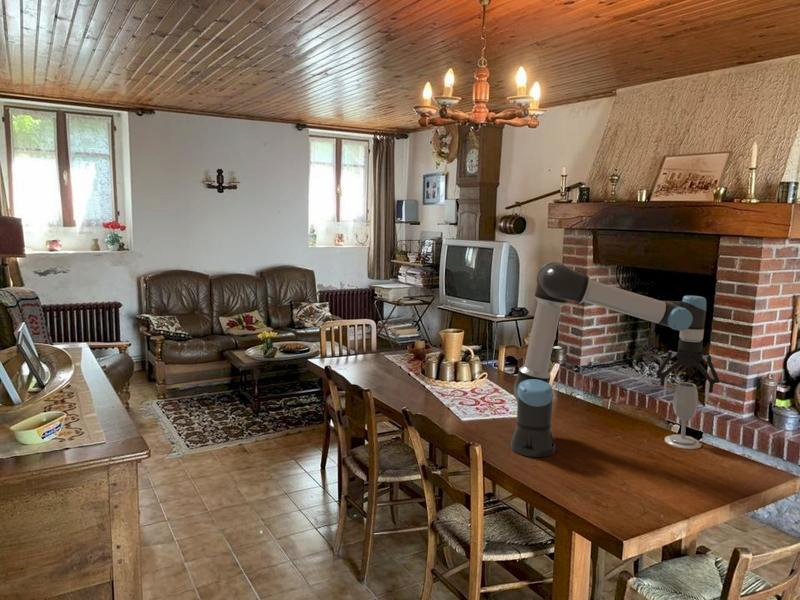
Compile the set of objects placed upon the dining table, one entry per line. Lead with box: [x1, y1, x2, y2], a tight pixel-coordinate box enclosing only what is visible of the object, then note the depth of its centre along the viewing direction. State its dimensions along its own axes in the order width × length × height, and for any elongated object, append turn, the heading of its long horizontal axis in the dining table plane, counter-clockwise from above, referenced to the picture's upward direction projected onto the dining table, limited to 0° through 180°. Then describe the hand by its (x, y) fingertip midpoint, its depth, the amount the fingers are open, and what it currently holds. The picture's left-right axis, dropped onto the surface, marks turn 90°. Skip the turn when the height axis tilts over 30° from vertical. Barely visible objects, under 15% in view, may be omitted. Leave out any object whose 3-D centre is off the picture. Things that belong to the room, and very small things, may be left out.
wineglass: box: [669, 381, 699, 445], centre depth 214 cm, size 9×9×21 cm
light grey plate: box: [664, 435, 702, 450], centre depth 215 cm, size 12×12×1 cm
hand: (685, 398), depth 213 cm, fingers open, 13 cm apart
